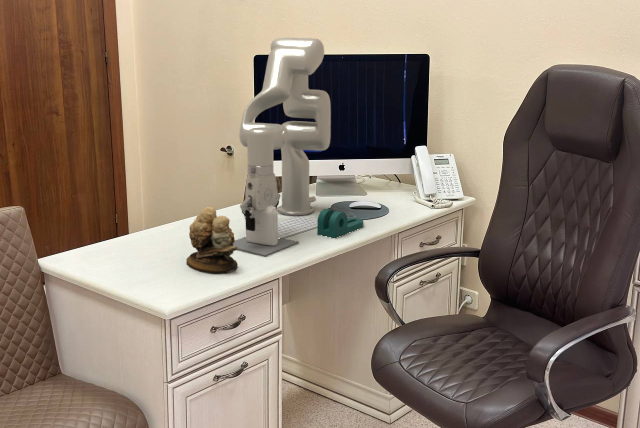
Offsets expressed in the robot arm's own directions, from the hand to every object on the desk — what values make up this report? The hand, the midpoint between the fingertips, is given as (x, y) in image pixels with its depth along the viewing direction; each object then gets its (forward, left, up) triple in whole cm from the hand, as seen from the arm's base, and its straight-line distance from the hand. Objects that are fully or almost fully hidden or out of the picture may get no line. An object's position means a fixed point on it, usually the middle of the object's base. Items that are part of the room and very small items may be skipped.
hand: (261, 226), depth 220 cm
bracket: (-28, +11, -6) cm, 31 cm away
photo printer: (0, 0, -5) cm, 5 cm away
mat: (0, 0, -6) cm, 6 cm away
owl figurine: (+22, +1, -6) cm, 23 cm away
